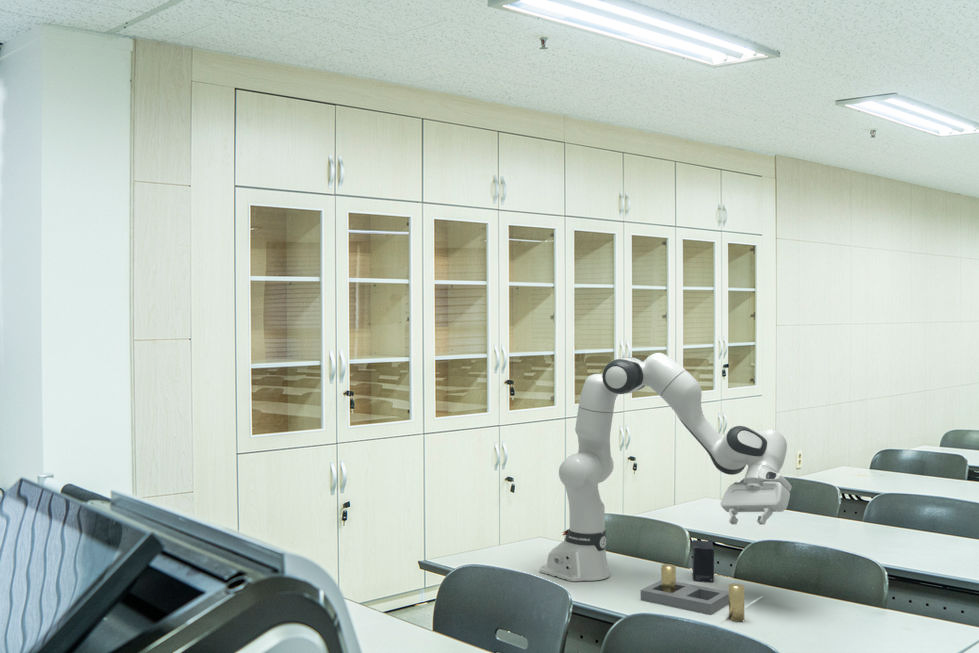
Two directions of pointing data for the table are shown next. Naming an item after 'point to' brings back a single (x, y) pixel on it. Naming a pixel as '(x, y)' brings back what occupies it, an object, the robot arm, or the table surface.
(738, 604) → the brass billet
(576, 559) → the robot arm
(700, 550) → the small box
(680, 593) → the tray
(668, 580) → the seated brass billet
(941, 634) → the table surface
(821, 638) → the table surface
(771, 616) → the table surface
